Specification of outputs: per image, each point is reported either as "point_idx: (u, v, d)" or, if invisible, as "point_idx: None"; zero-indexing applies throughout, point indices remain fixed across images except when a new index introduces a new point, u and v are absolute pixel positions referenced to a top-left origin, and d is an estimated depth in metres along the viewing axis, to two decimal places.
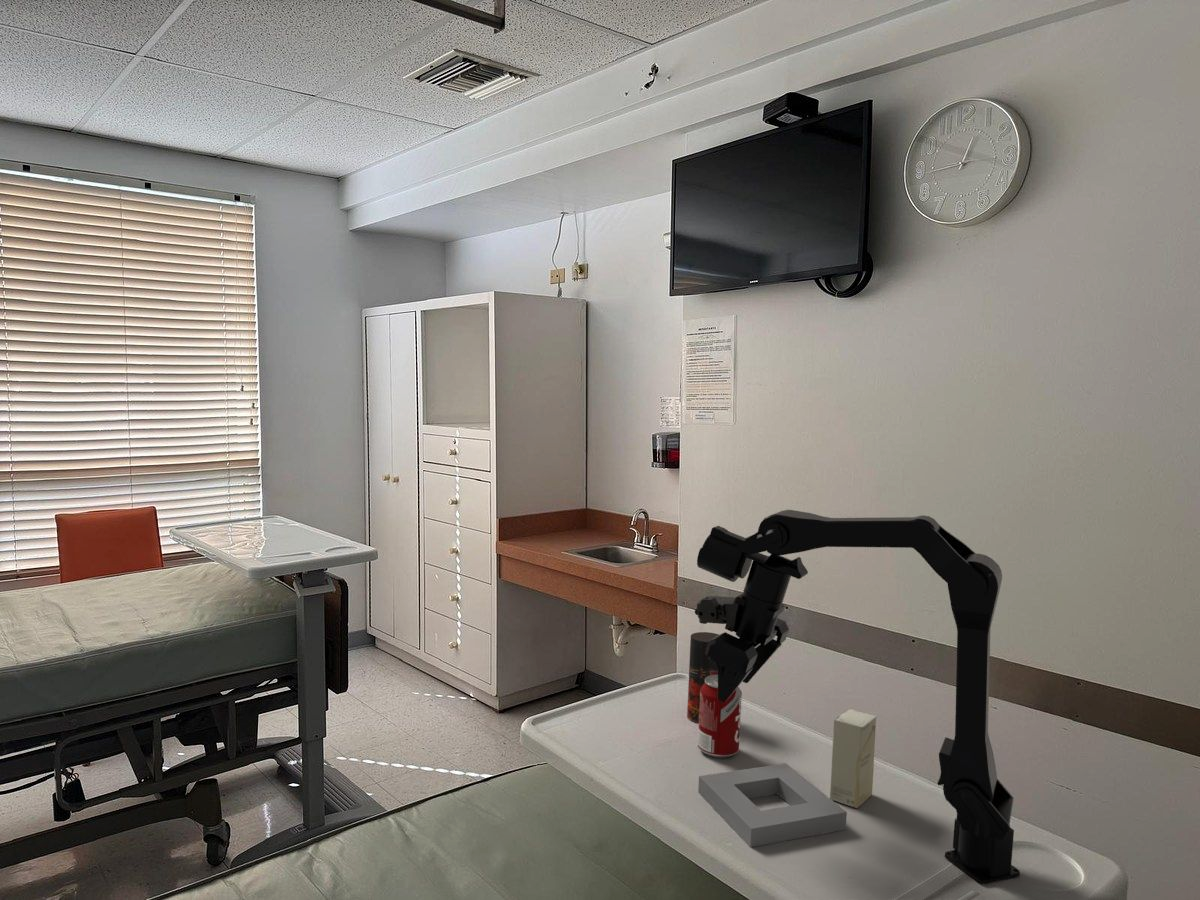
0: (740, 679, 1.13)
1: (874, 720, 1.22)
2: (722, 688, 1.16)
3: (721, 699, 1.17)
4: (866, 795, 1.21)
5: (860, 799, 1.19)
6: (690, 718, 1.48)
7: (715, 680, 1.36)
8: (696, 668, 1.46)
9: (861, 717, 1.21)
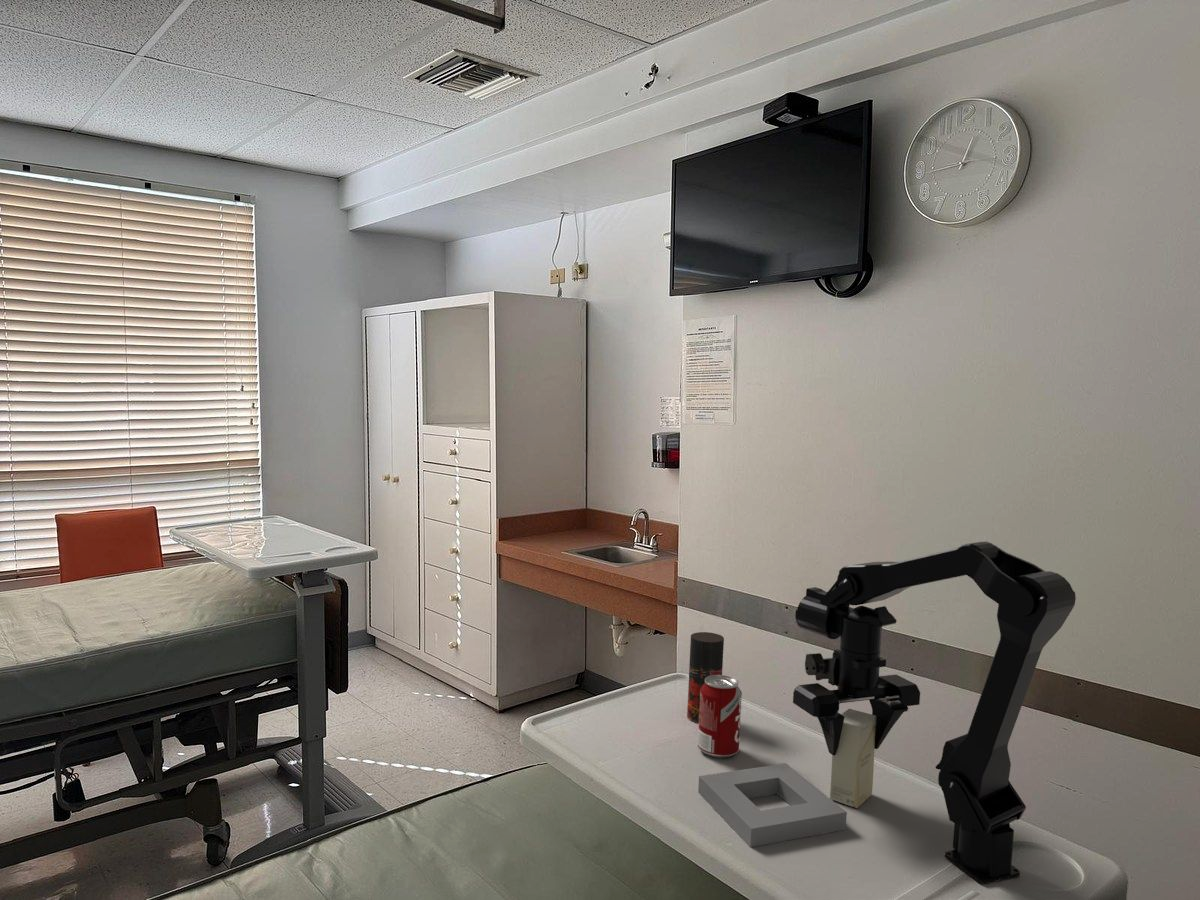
0: (832, 727, 1.17)
1: (874, 720, 1.22)
2: (828, 740, 1.20)
3: (830, 752, 1.20)
4: (866, 795, 1.21)
5: (860, 799, 1.19)
6: (690, 718, 1.48)
7: (715, 680, 1.36)
8: (696, 668, 1.46)
9: (861, 717, 1.21)
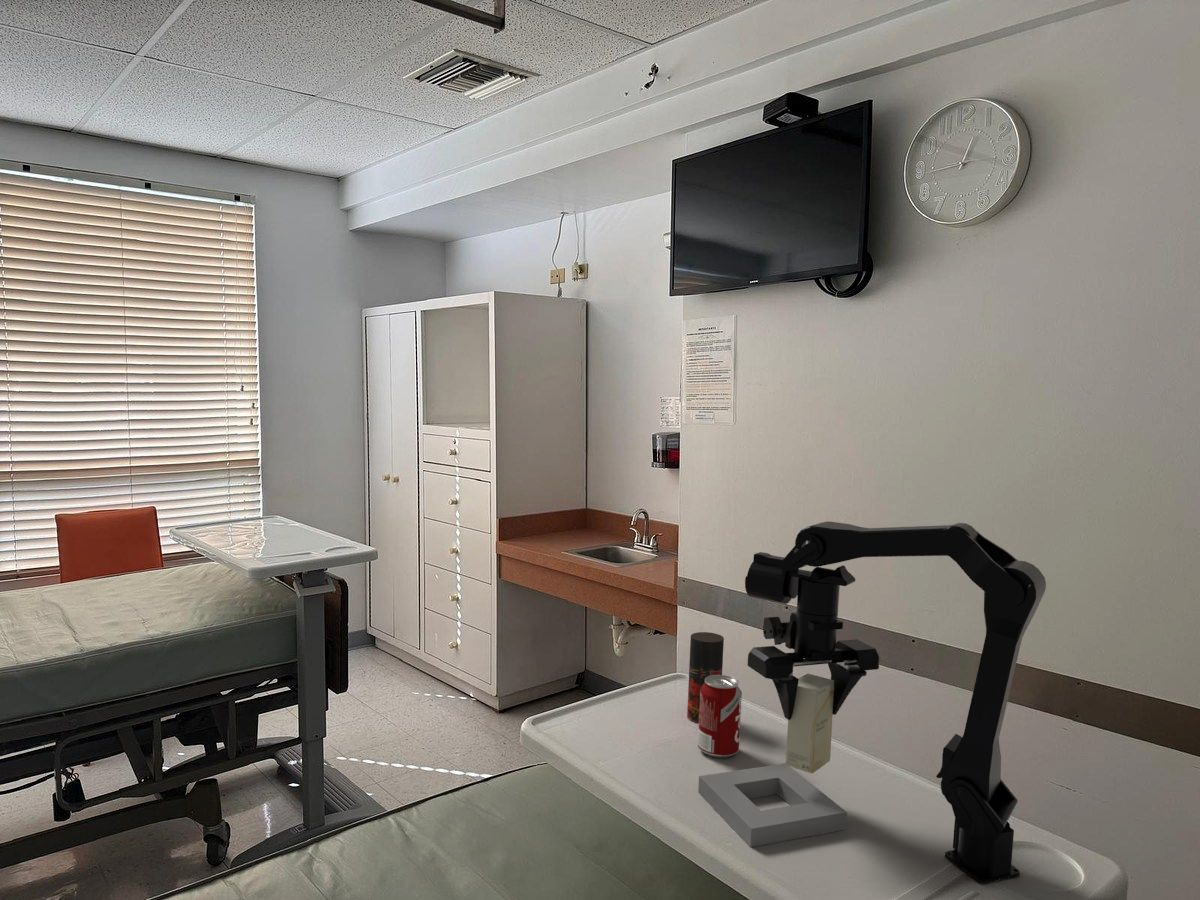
0: (786, 690, 1.14)
1: (832, 684, 1.19)
2: (783, 704, 1.17)
3: (786, 716, 1.17)
4: (823, 761, 1.18)
5: (816, 764, 1.16)
6: (690, 718, 1.48)
7: (715, 680, 1.36)
8: (696, 668, 1.46)
9: (818, 681, 1.18)
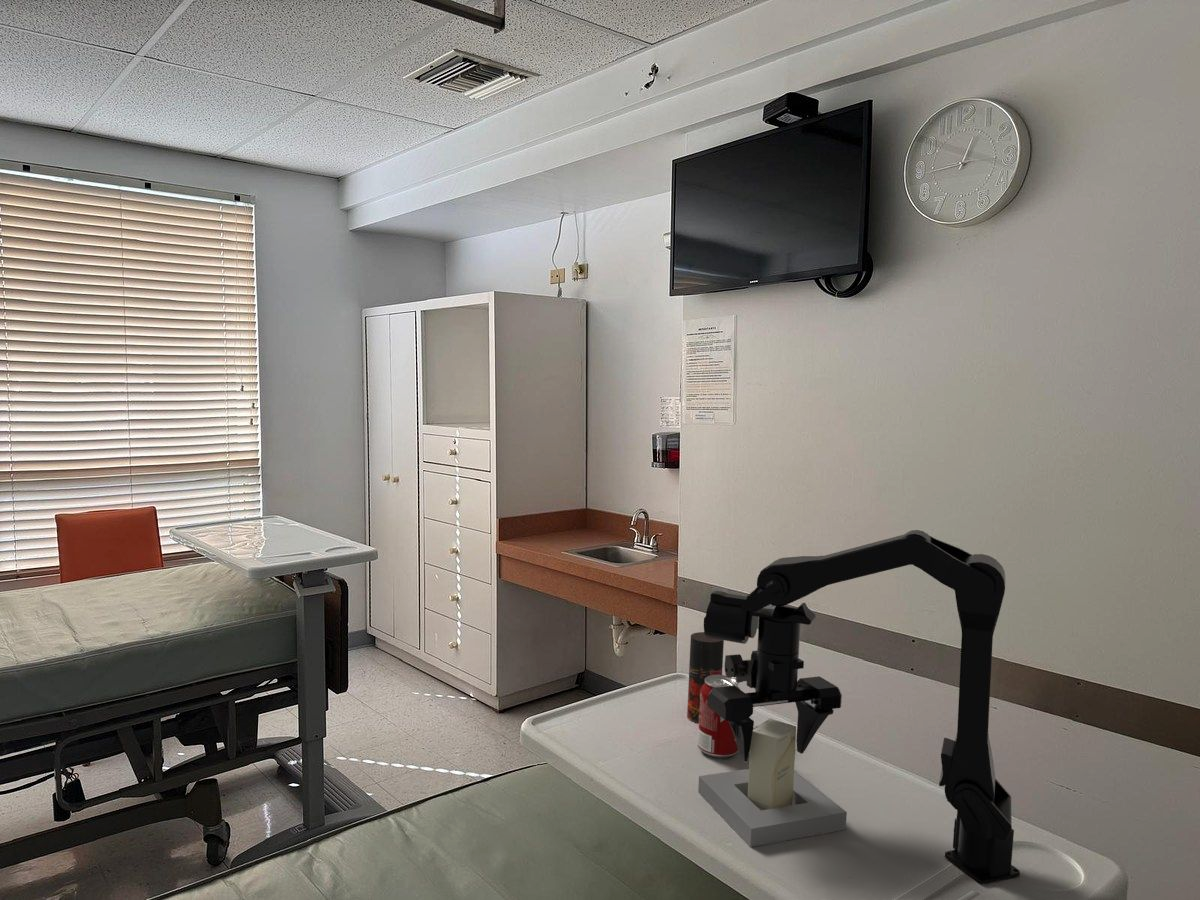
0: (742, 733, 1.12)
1: (794, 731, 1.17)
2: (739, 745, 1.15)
3: (742, 758, 1.15)
4: None
5: None
6: (690, 718, 1.48)
7: (715, 680, 1.36)
8: (696, 668, 1.46)
9: (779, 728, 1.17)
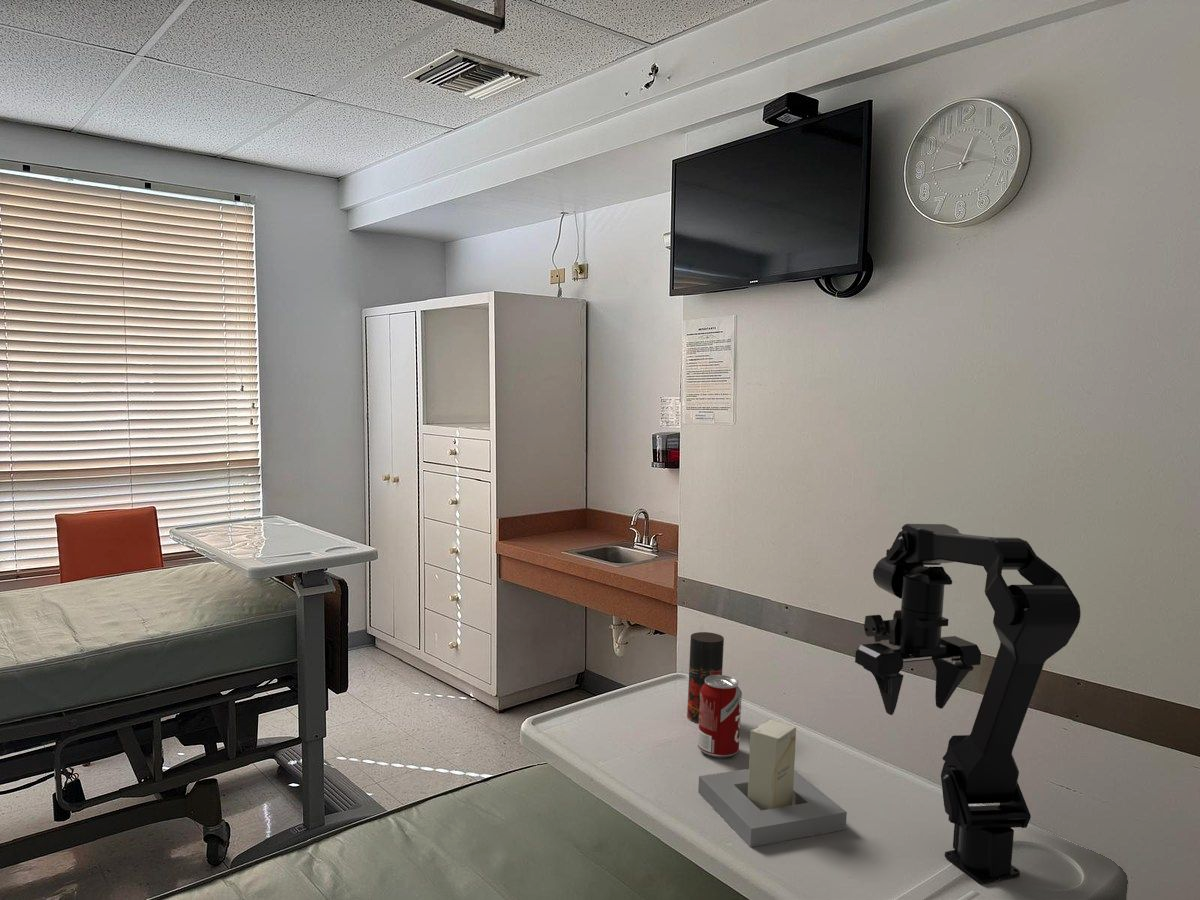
0: (891, 686, 1.18)
1: (794, 731, 1.17)
2: (885, 699, 1.20)
3: (888, 712, 1.20)
4: None
5: None
6: (690, 718, 1.48)
7: (715, 680, 1.36)
8: (696, 668, 1.46)
9: (779, 728, 1.16)
